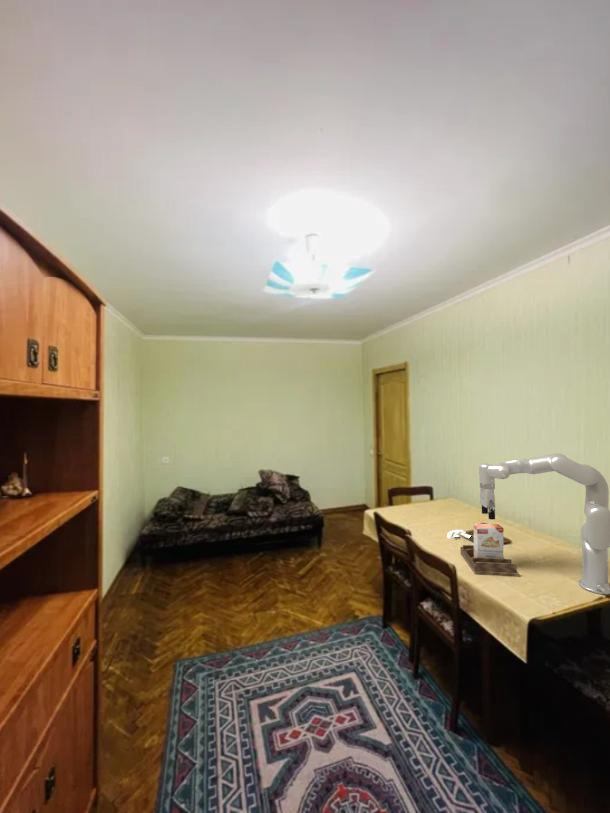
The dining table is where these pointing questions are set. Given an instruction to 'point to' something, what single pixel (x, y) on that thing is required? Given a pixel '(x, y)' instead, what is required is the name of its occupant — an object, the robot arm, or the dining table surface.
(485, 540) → the cracker box
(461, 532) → the cloth
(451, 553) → the dining table surface
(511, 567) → the rack
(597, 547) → the robot arm
